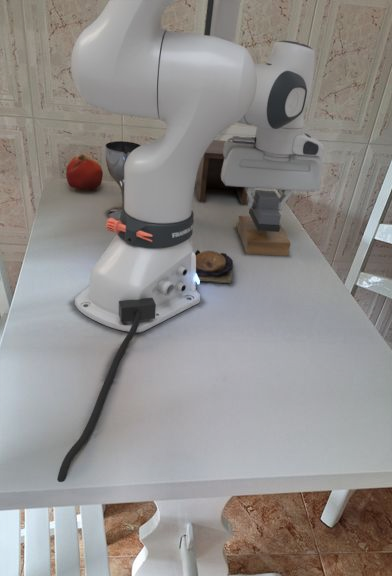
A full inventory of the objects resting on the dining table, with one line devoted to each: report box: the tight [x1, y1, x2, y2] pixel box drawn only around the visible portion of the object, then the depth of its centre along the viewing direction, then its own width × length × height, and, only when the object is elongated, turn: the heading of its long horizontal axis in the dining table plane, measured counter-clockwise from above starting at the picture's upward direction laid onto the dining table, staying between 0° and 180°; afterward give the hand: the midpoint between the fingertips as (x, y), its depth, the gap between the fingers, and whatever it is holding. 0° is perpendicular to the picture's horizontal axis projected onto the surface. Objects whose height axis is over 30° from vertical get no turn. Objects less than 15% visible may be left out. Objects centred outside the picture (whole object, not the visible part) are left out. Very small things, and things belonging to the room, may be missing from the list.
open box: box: [195, 139, 248, 205], centre depth 125 cm, size 12×12×12 cm
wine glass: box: [104, 140, 141, 221], centre depth 108 cm, size 8×8×15 cm
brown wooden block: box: [236, 215, 291, 257], centre depth 107 cm, size 13×9×3 cm
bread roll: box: [195, 249, 234, 284], centre depth 94 cm, size 11×8×4 cm
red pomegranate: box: [65, 153, 104, 191], centre depth 121 cm, size 9×9×8 cm
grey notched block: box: [248, 189, 282, 232], centre depth 102 cm, size 10×5×6 cm, turn 5°
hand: (264, 208), depth 103 cm, fingers closed on grey notched block, 4 cm apart
